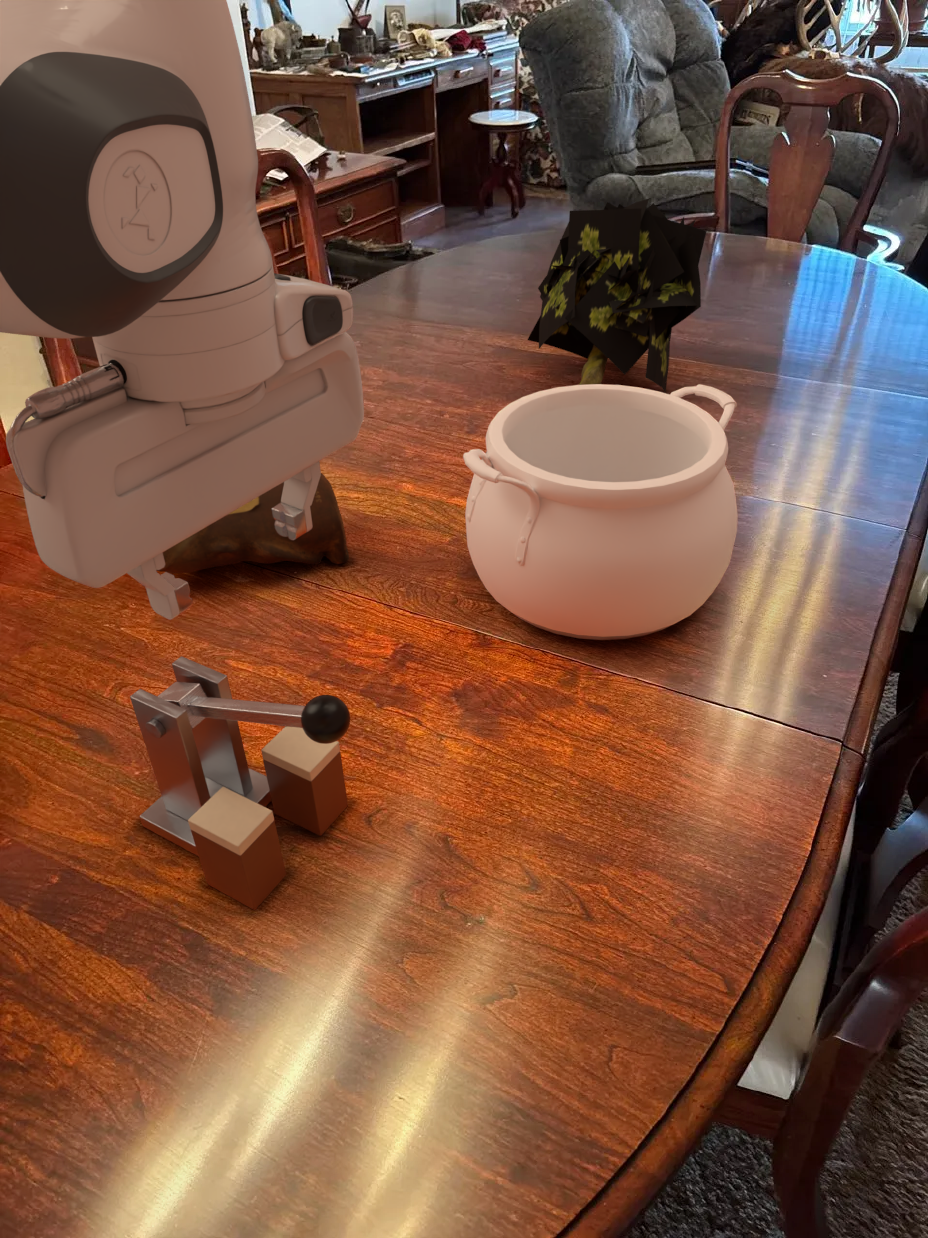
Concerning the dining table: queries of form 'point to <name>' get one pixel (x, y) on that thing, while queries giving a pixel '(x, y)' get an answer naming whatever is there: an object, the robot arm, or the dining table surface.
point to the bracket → (192, 756)
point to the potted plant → (620, 288)
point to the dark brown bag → (263, 536)
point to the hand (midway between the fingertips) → (237, 569)
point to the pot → (603, 508)
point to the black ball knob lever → (264, 711)
